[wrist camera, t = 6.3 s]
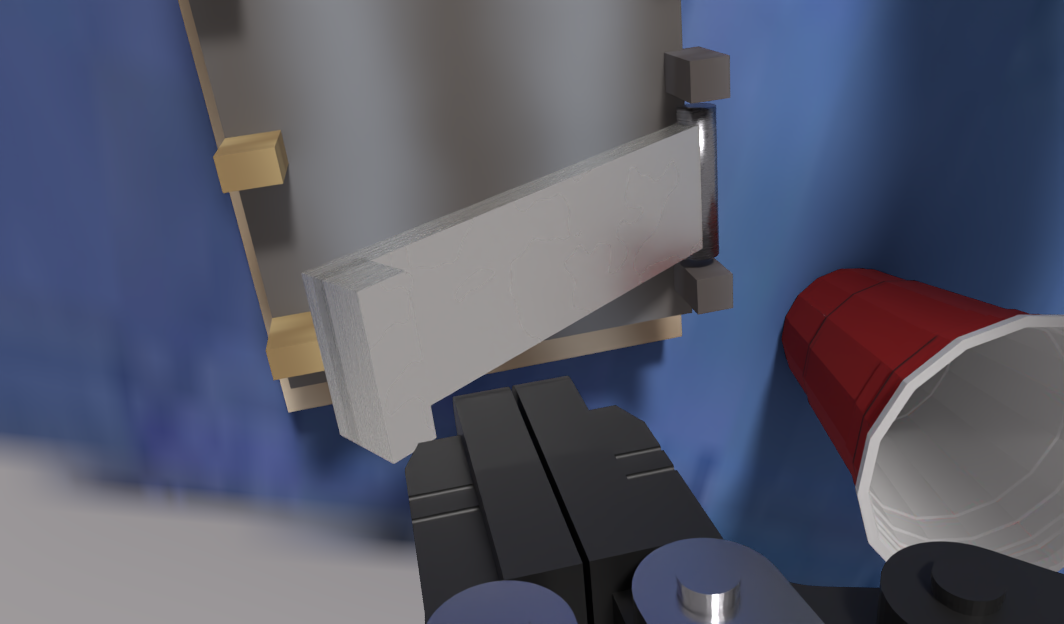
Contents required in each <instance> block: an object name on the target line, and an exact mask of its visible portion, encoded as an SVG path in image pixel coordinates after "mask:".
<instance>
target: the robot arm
mask: <svg viewBox="0 0 1064 624" xmlns="http://www.w3.org/2000/svg"><path fill="white" fill-rule="evenodd" d="M453 407H454V415H455V422H456V429H457V436H453V437H447V438H442V439H437V440H432V441H426V442H421V443H418V445H417V447H416V449H415V451H414V452H413V454H412V456H411V458H410V460H409V462H408V464H407V466H406V468H405V475H406V482H407V489H408V496H409V503H410V511H411V518H412V524H413V532H414V539H415V546H416V553H417V561H418V568H419V575H420V582H421V589H422V595H423V603H424V610H425V624H1064V574H1061V573H1058V572H1055V571H1052V570H1049V569H1046V568H1043V567H1040V566H1037V565H1034V564H1031V563H1028V562H1025V561H1022V560H1019V559H1016V558H1013V557H1010V556H1007V555H1004V554H1001V553H998V552H995V551H992V550H989V549H985V548H982V547H978V546H975V545H970V544H965V543H959V542H948V541H933V542H924V543H918V544H915V545H911V546H908V547H906V548H903V549H901V550H899V551H898V552H896V553H895V554H893V555H892V556H891V557H890V558H889V559H888V560H887V562H886V563H885V564H884V567H883V569H882V571H881V579H880V588H863V587H821V586H807V585H801V584H795V583H791V582H788V581H787V579H786V578H785V577H784V576H783V575H782V574H781V572H780V571H779V570H778V569H777V568H776V567H775V566H774V565H773V564H772V563H771V562H770V561H769V560H768V559H767V558H765V557H764V556H763V555H761V554H760V553H758V552H756V551H754V550H752V549H751V548H749V547H746V546H744V545H741V544H738V543H735V542H731V541H727V540H724V539H723V538H722V536H721V535H720V533H719V532H718V530H717V529H716V527H715V526H714V524H713V523H712V521H711V520H710V518H709V517H708V516H707V514H706V513H705V511H704V510H703V508H702V507H701V505H700V504H699V502H698V501H697V499H696V498H695V496H694V495H693V493H692V492H691V490H690V489H689V487H688V486H687V484H686V483H685V481H684V480H683V478H682V477H681V476H680V474H679V473H678V471H677V470H674V466H673V464H672V462H671V461H670V459H669V458H668V456H667V455H666V453H665V452H664V450H662V451H661V447H660V444H659V443H658V441H657V440H656V438H655V437H654V436H653V434H652V433H651V431H650V430H649V428H648V427H647V425H646V424H645V422H643V421H642V420H640V419H638V418H636V417H635V416H633V415H631V414H630V413H628V412H626V411H624V410H623V409H621V408H619V407H618V406H616V405H614V406H609V407H604V408H598V409H593V410H588V408H587V406H586V405H585V403H584V401H583V399H582V398H581V396H580V394H579V392H578V390H577V389H576V387H575V385H574V383H573V382H572V380H571V378H570V377H569V376H563V377H558V378H552V379H547V380H541V381H536V382H530V383H525V384H519V385H514V386H512V392H511V389H510V388H509V387H504V388H499V389H493V390H488V391H482V392H477V393H471V394H466V395H460V396H455V397H453Z"/></svg>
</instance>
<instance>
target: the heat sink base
mask: <svg viewBox="0 0 1064 624" xmlns="http://www.w3.org/2000/svg"><path fill="white" fill-rule="evenodd" d="M178 2H179V6H180V9H181V13H182V17H183V21H184V24H185V28H186V32H187V35H188V39H189V43H190V47H191V50H192V54H193V58H194V62H195V65H196V69H197V73H198V77H199V80H200V84H201V88H202V91H203V95H204V99H205V103H206V106H207V110H208V114H209V118H210V121H211V125H212V129H213V133H214V136H215V140H216V144H217V147H218V150H217V152H216V153H215V155H214V156H213V158H214V162H215V165H216V169H217V173H218V176H219V180H220V184H221V188H222V191H223V193H227V192H230V196H231V200H232V203H233V207H234V211H235V215H236V218H237V222H238V226H239V230H240V233H241V237H242V241H243V244H244V248H245V252H246V256H247V259H248V263H249V267H250V271H251V274H252V278H253V282H254V286H255V289H256V293H257V297H258V300H259V304H260V308H261V312H262V315H263V319H264V323H265V327H266V330H267V334H268V342H267V347H266V353H267V357H268V361H269V364H270V368H271V372H272V375H273V379H274V380H278V379H280V383H281V386H282V390H283V394H284V397H285V401H286V405H287V409H288V412H294V411H299V410H304V409H309V408H314V407H319V406H325V405H330V404H333V403H332V399H331V394H330V390H329V386H328V382H327V378H326V374H325V370H324V365H323V361H322V357H321V353H320V349H319V345H318V341H317V336H316V332H315V328H314V324H313V320H312V316H311V312H310V307H309V303H308V299H307V295H306V291H305V287H304V283H303V279H302V274H301V273H302V272H305V271H307V270H310V269H312V268H315V267H317V266H320V265H322V264H325V263H327V262H330V261H332V260H335V259H337V258H340V257H342V256H345V255H347V254H350V253H352V252H355V251H357V250H360V249H362V248H365V247H367V246H370V245H372V244H375V243H377V242H380V241H382V240H385V239H387V238H390V237H392V236H395V235H398V234H400V233H403V232H405V231H408V230H410V229H413V228H415V227H418V226H420V225H423V224H425V223H428V222H430V221H433V220H435V219H438V218H440V217H443V216H445V215H448V214H450V213H453V212H455V211H458V210H460V209H463V208H465V207H468V206H470V205H473V204H475V203H478V202H480V201H483V200H485V199H488V198H490V197H493V196H495V195H498V194H500V193H503V192H505V191H508V190H510V189H513V188H515V187H518V186H520V185H523V184H525V183H528V182H530V181H533V180H535V179H538V178H540V177H543V176H545V175H548V174H550V173H553V172H555V171H558V170H560V169H563V168H565V167H568V166H570V165H573V164H575V163H578V162H580V161H583V160H585V159H588V158H590V157H593V156H595V155H598V154H600V153H603V152H605V151H608V150H610V149H613V148H615V147H618V146H620V145H623V144H625V143H628V142H630V141H633V140H635V139H638V138H640V137H643V136H645V135H648V134H650V133H653V132H655V131H658V130H660V129H663V128H665V127H668V126H670V125H673V124H675V123H677V117H676V108H677V107H679V106H682V105H684V101H687V102H689V103H691V104H692V103H699V102H705V101H712V100H718V99H724V98H730V55H726V54H723V53H719V52H716V51H712V50H709V49H705V48H702V47H692V48H685V49H682V23H681V0H178ZM692 308H693V310H694V311H695V312H696V313H697V314H703V313H708V312H714V311H719V310H724V309H729V308H733V274H732V273H731V272H730V271H729V270H727V269H726V268H725V267H724V266H723V265H722V264H720V263H719V262H718V261H717V260H716V259H715V258H711V259H706V260H692V259H687V258H685V259H683V260H682V261H680V262H678V263H677V264H675V265H673V266H671V267H670V268H668V269H666V270H664V271H663V272H661V273H659V274H657V275H656V276H654V277H652V278H651V279H649V280H647V281H645V282H644V283H642V284H640V285H638V286H637V287H635V288H633V289H632V290H630V291H628V292H626V293H625V294H623V295H621V296H619V297H618V298H616V299H614V300H612V301H611V302H609V303H607V304H606V305H604V306H602V307H600V308H599V309H597V310H595V311H593V312H592V313H590V314H588V315H587V316H585V317H583V318H581V319H580V320H578V321H576V322H574V323H573V324H571V325H569V326H568V327H566V328H564V329H562V330H561V331H559V332H557V333H555V334H554V335H552V336H550V337H548V338H547V339H545V340H543V341H542V342H540V343H538V344H536V345H535V346H533V347H531V348H529V349H528V350H526V351H524V352H523V353H521V354H519V355H517V356H516V357H514V358H512V359H510V360H509V361H507V362H505V363H503V364H502V365H500V366H498V367H497V368H495V369H493V370H491V371H490V372H488V373H486V374H490V373H495V372H500V371H505V370H510V369H515V368H521V367H526V366H531V365H536V364H541V363H546V362H552V361H557V360H562V359H567V358H572V357H577V356H583V355H588V354H593V353H598V352H603V351H608V350H613V349H619V348H624V347H629V346H634V345H639V344H644V343H650V342H655V341H660V340H665V339H670V338H675V337H681V336H682V326H681V315H682V314H687V313H692ZM484 375H485V374H484Z"/></svg>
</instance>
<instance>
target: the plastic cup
mask: <svg viewBox="0 0 1064 624" xmlns="http://www.w3.org/2000/svg"><path fill="white" fill-rule="evenodd" d="M782 343H783V347H784V351H785V355H786V359H787V361H788V365H789V368H790V370H791V371H792V373H793V374H794V376H795V377H796V379H797V381H798V382H799V384H800V385H801V387H802V388H803V390H804V391H805V393H806V395H807V398H808V402H809V404H810V405H811V407H812V409H813V410H814V412H815V414H816V416H817V417H818V419H819V421H820V422H821V424H822V426H823V427H824V429H825V431H826V432H827V434H828V436H829V437H830V439H831V441H832V442H833V444H834V446H835V447H836V449H837V451H838V453H839V454H840V456H841V458H842V459H843V461H844V463H845V464H846V466H847V468H848V469H849V471H850V473H851V474H852V477H853V482H854V484H855V489H856V493H857V497H858V502H859V506H860V510H861V515H862V519H863V523H864V528H865V532H866V536H867V539H868V542H869V544H870V545H871V546H872V547H873V548H874V549H875V550H876V552H877V553H878V554H879V555H880V556H881V557H882V558H883V559H884V560H885V561H886V562H887V560H888V559H889V558H890V557H891V556H892V555H893V554H895V553H896V552H898V551H899V550H901V549H903V548H906V547H908V546H911V545H915V544H918V543H924V542H933V541H948V542H959V543H965V544H970V545H975V546H978V547H982V548H985V549H989V550H992V551H995V552H998V553H1001V554H1004V555H1007V556H1010V557H1013V558H1016V559H1019V560H1022V561H1025V562H1028V563H1031V564H1034V565H1037V566H1040V567H1043V568H1046V569H1049V570H1052V571H1055V572H1057V571H1059V570H1060V569H1062V568H1063V567H1064V315H1041V314H1029V313H1026V312H1022V311H1019V310H1016V309H1005V308H1001V307H998V306H995V305H992V304H989V303H985V302H982V301H979V300H976V299H973V298H969V297H966V296H963V295H960V294H957V293H954V292H950V291H947V290H944V289H941V288H938V287H934V286H931V285H928V284H925V283H922V282H918V281H915V280H904V279H901V278H898V277H895V276H892V275H889V274H886V273H883V272H880V271H877V270H874V269H864V268H854V269H839V270H836V271H834V272H831V273H829V274H827V275H824V276H822V277H819V278H817V279H816V280H815V281H814V282H813V283H812V284H810V285H809V286H808V287H807V288H806V289H805V290H804V291H802V292H801V293H800V294H799V295H798V296H797V298H796V300H795V302H794V303H793V305H792V307H791V308H790V310H789V312H788V313H787V315H786V318H785V323H784V328H783V334H782Z"/></svg>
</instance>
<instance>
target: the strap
mask: <svg viewBox="0 0 1064 624" xmlns="http://www.w3.org/2000/svg"><path fill="white" fill-rule="evenodd" d="M676 117H677V123H675V124H673V125H670V126H668V127H665V128H663V129H660V130H658V131H655V132H653V133H650V134H648V135H645V136H643V137H640V138H638V139H635V140H633V141H630V142H628V143H625V144H623V145H620V146H618V147H615V148H613V149H610V150H608V151H605V152H603V153H600V154H598V155H595V156H593V157H590V158H588V159H585V160H583V161H580V162H578V163H575V164H573V165H570V166H568V167H565V168H563V169H560V170H558V171H555V172H553V173H550V174H548V175H545V176H543V177H540V178H538V179H535V180H533V181H530V182H528V183H525V184H523V185H520V186H518V187H515V188H513V189H510V190H508V191H505V192H503V193H500V194H498V195H495V196H493V197H490V198H488V199H485V200H483V201H480V202H478V203H475V204H473V205H470V206H468V207H465V208H463V209H460V210H458V211H455V212H453V213H450V214H448V215H445V216H443V217H440V218H438V219H435V220H433V221H430V222H428V223H425V224H423V225H420V226H418V227H415V228H413V229H410V230H408V231H405V232H403V233H400V234H398V235H395V236H392V237H390V238H387V239H385V240H382V241H380V242H377V243H375V244H372V245H370V246H367V247H365V248H362V249H360V250H357V251H355V252H352V253H350V254H347V255H345V256H342V257H340V258H337V259H335V260H332V261H330V262H327V263H325V264H322V265H320V266H317V267H315V268H312V269H310V270H307V271H305V272H302V273H301V274H302V279H303V283H304V287H305V291H306V295H307V299H308V303H309V307H310V312H311V316H312V320H313V324H314V328H315V332H316V336H317V341H318V345H319V349H320V353H321V357H322V361H323V365H324V370H325V374H326V378H327V382H328V386H329V390H330V394H331V399H332V403H333V407H334V411H335V415H336V419H337V423H338V428H339V432H340V435H342V436H343V437H345V438H347V439H349V440H351V441H353V442H354V443H356V444H358V445H360V446H362V447H364V448H365V449H367V450H369V451H371V452H373V453H375V454H377V455H378V456H380V457H382V458H384V459H386V460H388V461H389V462H391V463H393V464H395V463H396V462H398V461H400V460H401V459H403V458H404V457H406V456H408V455H409V454H411V453H413V452H414V451H415V449H416V447H417V445H418V443H421V442H426V441H432V440H434V439H435V438H437V437H436V432H435V427H434V421H433V416H432V410H431V405H433V404H434V403H436V402H438V401H439V400H441V399H443V398H445V397H446V396H448V395H450V394H452V393H453V392H455V391H457V390H458V389H460V388H462V387H464V386H465V385H467V384H469V383H471V382H472V381H474V380H476V379H478V378H479V377H481V376H483V375H484V374H486V373H488V372H490V371H491V370H493V369H495V368H497V367H498V366H500V365H502V364H503V363H505V362H507V361H509V360H510V359H512V358H514V357H516V356H517V355H519V354H521V353H523V352H524V351H526V350H528V349H529V348H531V347H533V346H535V345H536V344H538V343H540V342H542V341H543V340H545V339H547V338H548V337H550V336H552V335H554V334H555V333H557V332H559V331H561V330H562V329H564V328H566V327H568V326H569V325H571V324H573V323H574V322H576V321H578V320H580V319H581V318H583V317H585V316H587V315H588V314H590V313H592V312H593V311H595V310H597V309H599V308H600V307H602V306H604V305H606V304H607V303H609V302H611V301H612V300H614V299H616V298H618V297H619V296H621V295H623V294H625V293H626V292H628V291H630V290H632V289H633V288H635V287H637V286H638V285H640V284H642V283H644V282H645V281H647V280H649V279H651V278H652V277H654V276H656V275H657V274H659V273H661V272H663V271H664V270H666V269H668V268H670V267H671V266H673V265H675V264H677V263H678V262H680V261H682V260H683V259H685V258H687V259H692V260H706V259H711V258H714V257H716V256H717V255H718V254H719V226H718V178H717V130H716V105H715V104H711V103H693V104H686V105H682V106H679V107H677V108H676Z"/></svg>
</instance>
